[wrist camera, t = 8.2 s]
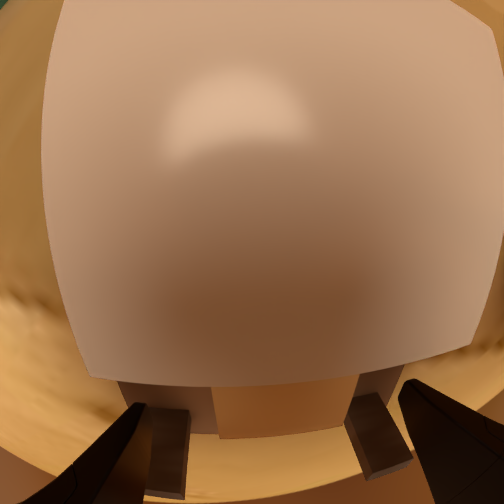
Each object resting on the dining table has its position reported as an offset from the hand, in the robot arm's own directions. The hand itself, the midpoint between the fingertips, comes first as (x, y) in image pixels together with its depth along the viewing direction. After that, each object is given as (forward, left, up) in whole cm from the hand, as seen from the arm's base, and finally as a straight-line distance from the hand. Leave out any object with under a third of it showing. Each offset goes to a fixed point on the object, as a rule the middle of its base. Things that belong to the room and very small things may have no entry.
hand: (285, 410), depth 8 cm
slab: (0, -8, 0) cm, 8 cm away
